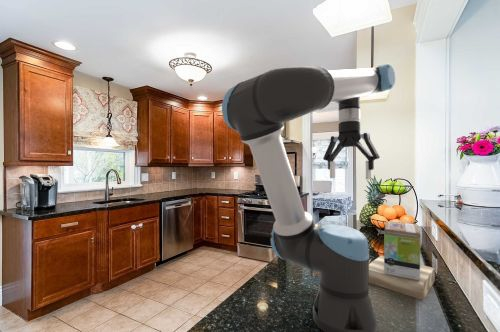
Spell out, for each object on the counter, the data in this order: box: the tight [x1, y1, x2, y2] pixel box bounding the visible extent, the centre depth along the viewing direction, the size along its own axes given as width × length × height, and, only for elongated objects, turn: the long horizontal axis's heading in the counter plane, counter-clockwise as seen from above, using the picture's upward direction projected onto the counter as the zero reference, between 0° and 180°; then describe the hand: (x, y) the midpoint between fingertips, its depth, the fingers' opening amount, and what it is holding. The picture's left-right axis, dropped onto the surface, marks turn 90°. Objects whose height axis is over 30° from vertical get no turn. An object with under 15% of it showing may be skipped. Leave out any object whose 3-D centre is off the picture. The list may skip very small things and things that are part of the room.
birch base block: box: [369, 255, 435, 301], centre depth 84 cm, size 17×17×5 cm
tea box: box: [383, 220, 421, 280], centre depth 83 cm, size 15×10×15 cm, turn 149°
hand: (349, 178), depth 91 cm, fingers open, 13 cm apart
